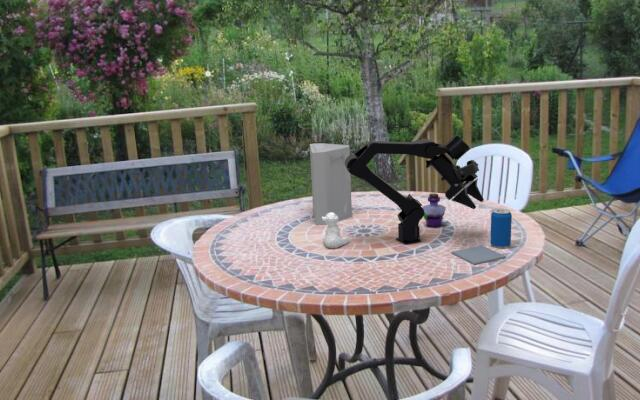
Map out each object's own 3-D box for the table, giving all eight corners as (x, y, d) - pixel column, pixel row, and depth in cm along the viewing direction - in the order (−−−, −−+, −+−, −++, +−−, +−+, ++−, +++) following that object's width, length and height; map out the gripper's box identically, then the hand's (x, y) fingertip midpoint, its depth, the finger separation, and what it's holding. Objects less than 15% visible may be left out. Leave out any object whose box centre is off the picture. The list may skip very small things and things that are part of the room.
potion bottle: (417, 225, 235) (416, 194, 232) (432, 220, 240) (432, 189, 237) (435, 230, 229) (435, 198, 226) (450, 225, 234) (450, 193, 231)
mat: (474, 265, 194) (474, 263, 194) (451, 253, 205) (451, 251, 205) (505, 258, 199) (506, 256, 199) (481, 247, 210) (481, 245, 209)
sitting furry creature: (350, 242, 221) (349, 208, 218) (344, 250, 213) (343, 216, 210) (324, 240, 223) (322, 208, 220) (317, 249, 215) (315, 215, 212)
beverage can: (507, 242, 213) (508, 207, 210) (513, 248, 207) (514, 213, 204) (487, 243, 213) (488, 208, 210) (493, 249, 207) (494, 214, 204)
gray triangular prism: (354, 223, 242) (352, 150, 235) (315, 225, 241) (311, 152, 234) (349, 209, 260) (346, 141, 253) (313, 211, 260) (309, 143, 253)
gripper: (455, 159, 201) (489, 196, 198) (472, 148, 216) (504, 182, 214) (431, 181, 206) (464, 217, 204) (449, 169, 222) (480, 203, 220)
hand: (479, 204), depth 210 cm, fingers open, 9 cm apart
